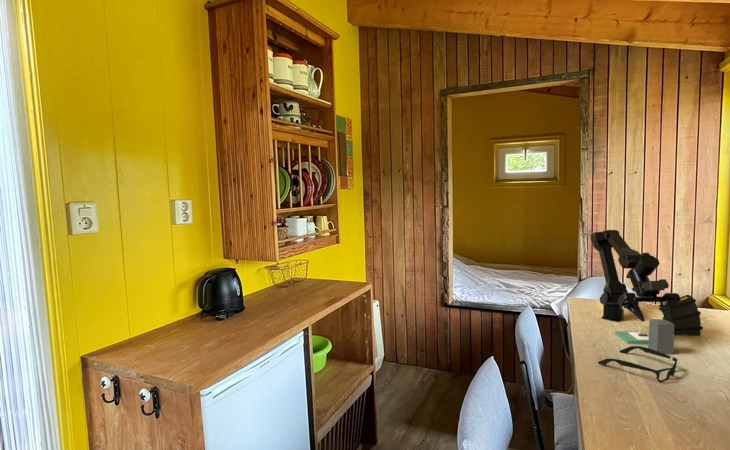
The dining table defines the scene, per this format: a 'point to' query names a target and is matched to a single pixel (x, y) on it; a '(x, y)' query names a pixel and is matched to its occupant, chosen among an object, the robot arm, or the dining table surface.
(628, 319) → the dining table surface
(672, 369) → the glasses
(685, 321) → the magazine
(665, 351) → the block
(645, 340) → the board
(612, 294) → the robot arm
